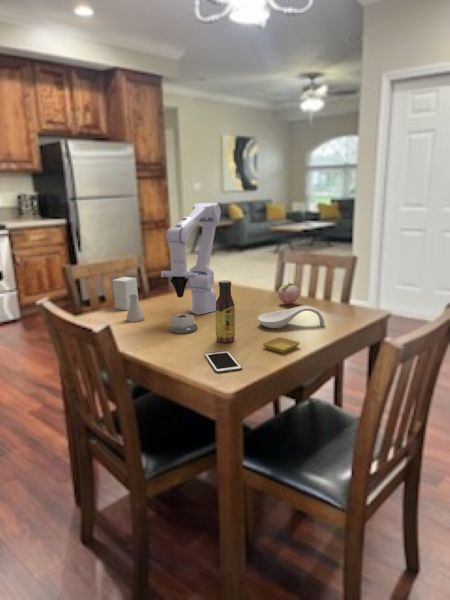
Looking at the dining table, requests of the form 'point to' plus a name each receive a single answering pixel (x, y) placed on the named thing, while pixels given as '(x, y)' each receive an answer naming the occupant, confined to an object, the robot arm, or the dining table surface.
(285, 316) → the spoon rest
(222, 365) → the cell phone
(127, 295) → the supplement box
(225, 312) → the sauce bottle
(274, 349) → the saucer
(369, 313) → the dining table surface
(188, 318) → the collar
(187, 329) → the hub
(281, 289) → the decorative fruit
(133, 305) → the flask
